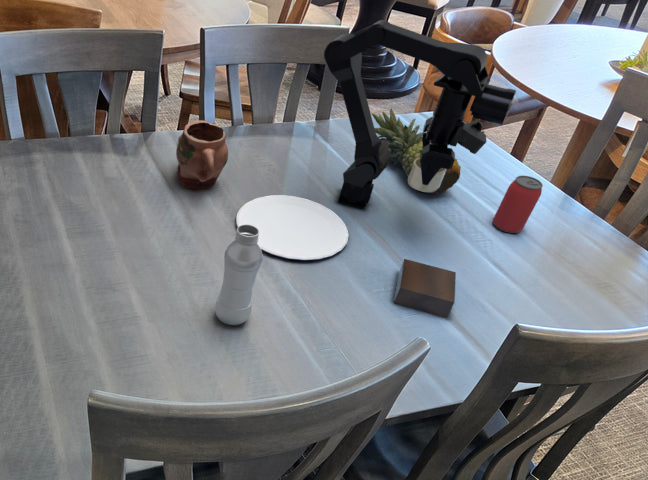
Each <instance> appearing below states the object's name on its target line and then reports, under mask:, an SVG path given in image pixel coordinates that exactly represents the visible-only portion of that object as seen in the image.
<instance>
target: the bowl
mask: <svg viewBox="0 0 648 480" xmlns="http://www.w3.org/2000/svg"><path fill="white" fill-rule="evenodd" d="M445 172H446V169H445V168H441V169H439V171H438V172H437V173H436V175H435V176H434V177H433V179H432V180H431V181H430V183H429V184H428V185H423V184H422V174H421V163H420V158H417V159H415V160H414V162H413V165H412V168H411V171H410V173H409V176H408V177H407V183H408V185H409V186H410V187H411V188H412V189H414V190H417V191H420V192H423V193H427V192H434V191H436V190H437V189H438V188H439V187H440V185H441V182H442V180H443V177H444V175H445Z"/></svg>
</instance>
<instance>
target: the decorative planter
mask: <svg viewBox="0 0 648 480" xmlns="http://www.w3.org/2000/svg"><path fill="white" fill-rule="evenodd" d="M226 138H227V137H226V133H225V130H224V129H223V127H221V126H219V124H216V123H212V122H209V121H207V120H203V119H200V120H192V121H191V122H189V123H187V124H185V126H184V128H183V130H182V133H181V134H180V136H178V143H177V146H176V149H175V154H176V155H175V156H176V160H177V162H178V165H177V169H176V170H177V171H176V175H177V179H178V182H179V184H180V185H181V186H182V187H184V188H187V189H192V190H204V189H209V188H212V187H213V186H214V185H215V184H216V182H217V180H218V178H219V177H220V175H221V173H222V171H223V169H224V167H225V166H226V165H227V163H228V159H229V148H228V145H227V143H226Z"/></svg>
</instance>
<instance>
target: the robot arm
mask: <svg viewBox="0 0 648 480" xmlns="http://www.w3.org/2000/svg"><path fill="white" fill-rule="evenodd" d="M376 45H378V46H381V47H384V48H387V49H389V50H392V51H395V52H397V53H400V54H403V55H405V56H409V57H411V58H414V59H416V60H419V61H422V62H425V63H428V64H430V65H431V66H434V67H435V68H436V69H437V70H438V71H439V72H440V73H441V74H442V75H441V76H438V77H437V79H436V80H435V81H434V82H433V86H435V87H438V88H441V89H442V90H441V93H440V96H439V98H438V101H437V104H436V107H435V108H434V109H433V112H432V116H430V117H429V118H426V119H425V122H424V125H423V130H422V132H424V133H423V136H422V144H423V150H422V153H421V155H420V163H421V174H422V184H423V185H428V184H429V183H430V181H431V180H432V179H433V177H434V176H435V175H436V173H437V172H438V171H439V169H441V168H445V169H452V166H453V164H454V161H455V159H456V153H455V151H454V150H453V148H451V147H457V145H460V146H461V147H463V148H464V149H466V150H468V151H469V153H471V154H472V155H476V154H477V153H478V152H479V151H480V150H481V149H482V148H483V147H484V145H485V144H486V143H487V135H486V134H485V131H484V130H482V129H483V122H482V121H484V122H487V123H491V124H495V125H497V126H503V125H504V123H505V122H506V119H507V117H508V115H509V113H510V111H511V108H512V106H513V101H514V98H515V95H516V93H517V90H516V89H512V88H505V87H500V86H496V85H493V84H490V82H491V79H490V75H489V73H488V69H487V66H486V65H487V62H488V55H487V53H486V50H485V49H484V48H483V47H482V46H480V45H476V44H471V43H463V42H447V41H442V40H439V39H436V38H433V37H430V36H428V35H424V34H422V33H419V32H416V31H413V30H410V29H407V28H405V27H401V26H399V25H396V24H393V23H391V22H389V21H388V20H385V19H380V20H378V21H376V22H374V23H373V24H372V25H369V26H367V27H365V28H363V29H360V30H358V31H357V32H355V33H348V32H347V33H343V34H341V35H338V36H337V37H336V38H335V39H333V40H332V41H331V42H329V43H328V44H327V45H326V47H325V49H324V52H323V58H324V61H325V64H326V65H327V67H328V70H329V72H330V73H331V75H332V76H333V77H334V79H335V80H337V82H338V83H339V86H340V90H341V93H342V97H343V101H344V104H345V108H346V113H347V116H348V120H349V123H350V127H351V131H352V134H353V138H354V142H355V147H354V158H353V159H354V161H353V162H352V163H351V164H350V165H349V166H348V167H347V169H346V170H345V171H344V172H343V173H342V178H343V182H342V185H341V189H340V192H339V195H338V197H337V200H336V201H337V203H338V204H342V205H346V206H350V207H354V208H358V209H362V210H364V209H365V208H366V206H367V205H368V204H369V202H370V200H371V196H372V194H373V190H374V186H375V184H374V183H373V181H374V180H377V178H379V177H380V176H381V174H383V172H384V171H385V170H386V168H387V167H388V166H389V164H390V162H391V161H390V160H391V158H390V156H391V155H392V154H391V152H390V151H389V150H390V149H389V148H388V140H387V139H386V140H383V141H381V140H380V139H381V138H378V137H379V135H378V134H377V133H375V129H374V128H375V126H374V121H373V116H372V114H371V110H370V106H369V101H368V98H367V93H366V90H365V87H364V84H363V78H362V76H361V75H362V73H361V72H362V71H361V70H362V63H363V55H362V54H363V52H365V51H366V50H368V49H370V48H371V47H374V46H376ZM473 97H474V98H473ZM472 98H473V100H472ZM471 100H472V103H471V105H470V102H471ZM469 105H470V108H469ZM468 108H469V112H471V113H470V116H472V118H473V119H475V120H472V121H471V122H465V121H464V120H465V115H466V112H467V110H468Z"/></svg>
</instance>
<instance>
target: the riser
mask: <svg viewBox="0 0 648 480" xmlns="http://www.w3.org/2000/svg"><path fill="white" fill-rule="evenodd" d="M456 276H457V272H456V271H452V270H449V269H446V268H442V267H438V266H434V265H430V264H426V263H423V262H419V261H415V260H411V259H408V258H404V259H403V261H402V264H401V266H400V268H399V270H398V273H397V280H396V287H395V293H394V299H393V303H394V304H397V305H401V306H403V307H408V308H410V309H411V308H412V309H415V310H419V311H421V312H422V311H423V312H426V313H429V314H432V315H436V316H440V317H444V318H448V317H449V315H450V313H451V311H452V309H453V306H454V304H455V301H456V280H457V279H456Z"/></svg>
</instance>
